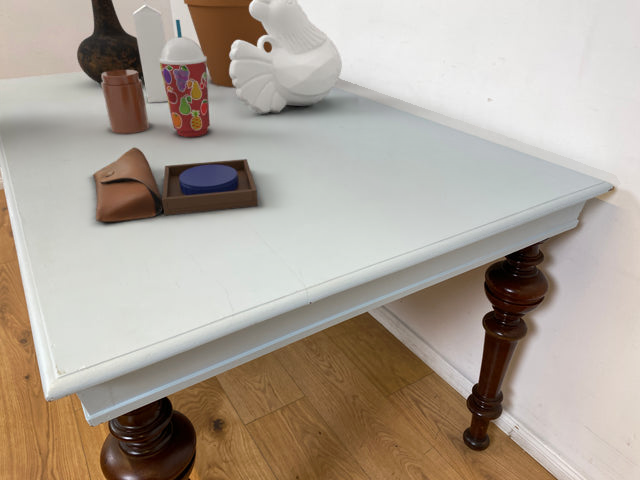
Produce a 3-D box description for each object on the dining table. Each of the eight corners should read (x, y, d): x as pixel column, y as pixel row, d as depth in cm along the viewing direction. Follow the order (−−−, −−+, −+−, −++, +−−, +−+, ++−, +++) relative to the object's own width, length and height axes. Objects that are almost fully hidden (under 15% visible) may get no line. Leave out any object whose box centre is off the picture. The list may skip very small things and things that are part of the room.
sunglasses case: (89, 173, 74) (104, 133, 72) (134, 188, 78) (150, 151, 76) (95, 223, 59) (114, 176, 58) (150, 238, 63) (170, 194, 62)
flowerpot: (269, 67, 151) (264, -18, 139) (313, 84, 130) (312, -14, 119) (181, 76, 139) (168, -16, 127) (214, 96, 118) (202, -11, 106)
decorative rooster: (334, 65, 118) (266, -24, 106) (364, 63, 104) (290, -40, 92) (264, 137, 117) (188, 55, 105) (285, 145, 103) (200, 51, 91)
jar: (109, 134, 92) (96, 77, 86) (113, 124, 98) (101, 70, 92) (148, 132, 93) (138, 75, 88) (150, 121, 99) (141, 68, 94)
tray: (164, 215, 63) (161, 199, 61) (167, 179, 73) (165, 165, 72) (257, 205, 65) (256, 190, 64) (247, 172, 75) (246, 158, 74)
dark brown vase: (157, 75, 141) (140, -35, 126) (146, 88, 125) (125, -35, 111) (94, 76, 138) (68, -36, 124) (75, 90, 123) (44, -35, 109)
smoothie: (214, 125, 97) (202, 17, 87) (215, 138, 90) (202, 21, 80) (171, 127, 96) (154, 17, 86) (169, 141, 89) (150, 22, 79)
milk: (148, 103, 113) (128, -2, 101) (148, 97, 118) (129, -4, 106) (175, 101, 114) (158, -3, 103) (174, 95, 119) (158, -5, 108)
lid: (236, 174, 73) (235, 162, 72) (241, 196, 66) (239, 183, 65) (181, 178, 71) (179, 166, 70) (180, 201, 64) (178, 188, 63)
